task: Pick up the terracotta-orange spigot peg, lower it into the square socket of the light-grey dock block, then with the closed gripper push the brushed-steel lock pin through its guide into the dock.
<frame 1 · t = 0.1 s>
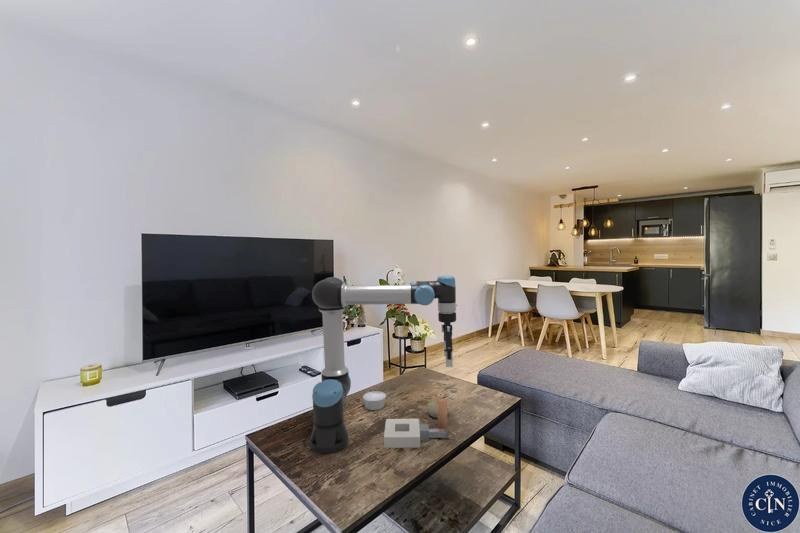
hand: (448, 361, 146), 28 cm above the table, fingers open, 13 cm apart
dock: (402, 437, 138), on the table
ramekin: (374, 406, 166), on the table
pin guide: (424, 437, 138), on the table
spigot peg: (442, 427, 144), on the table
sea urchin shell: (438, 415, 156), on the table
lock pin: (435, 432, 137), point 2 cm above the table, slide at 5.0 cm
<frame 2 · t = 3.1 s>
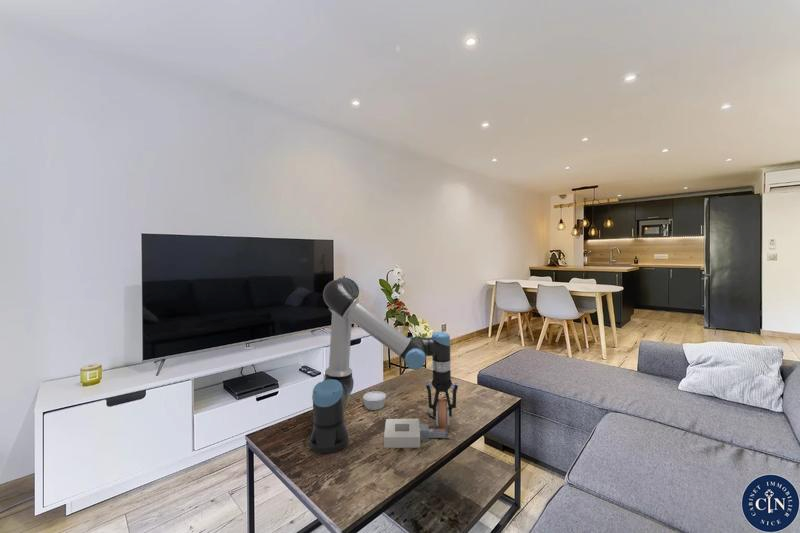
hand: (442, 423, 144), 2 cm above the table, fingers closed on spigot peg, 4 cm apart
spigot peg: (442, 427, 144), on the table, touching gripper
everything else where it was.
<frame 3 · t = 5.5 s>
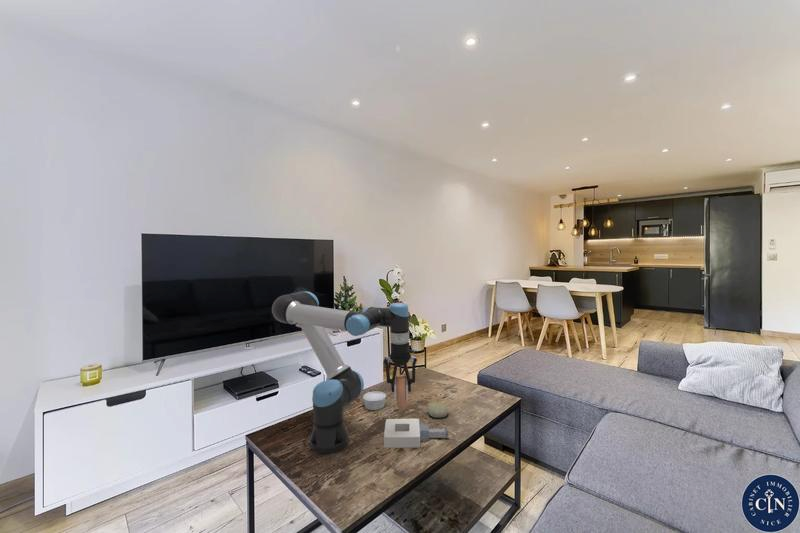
hand: (401, 399, 137), 16 cm above the table, fingers closed on spigot peg, 4 cm apart
spigot peg: (401, 406, 137), point 13 cm above the table, touching gripper
everything else where it was.
when the fingers open (5 cm above the table, at t = 8.1 s): spigot peg drops 2 cm, resting in dock.
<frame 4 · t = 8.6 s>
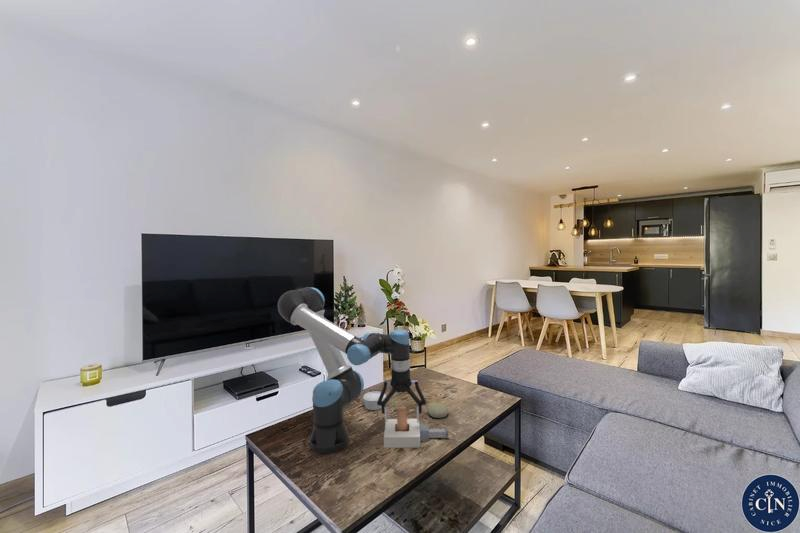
hand: (402, 421, 138), 7 cm above the table, fingers open, 12 cm apart
spigot peg: (402, 437, 138), resting in dock
everything else where it was.
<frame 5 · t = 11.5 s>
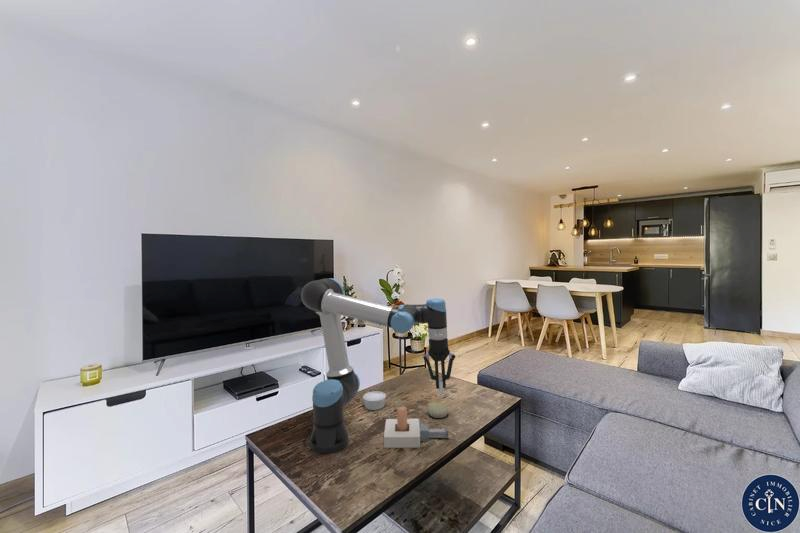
hand: (441, 396, 136), 17 cm above the table, fingers closed
nothing on the table moved.
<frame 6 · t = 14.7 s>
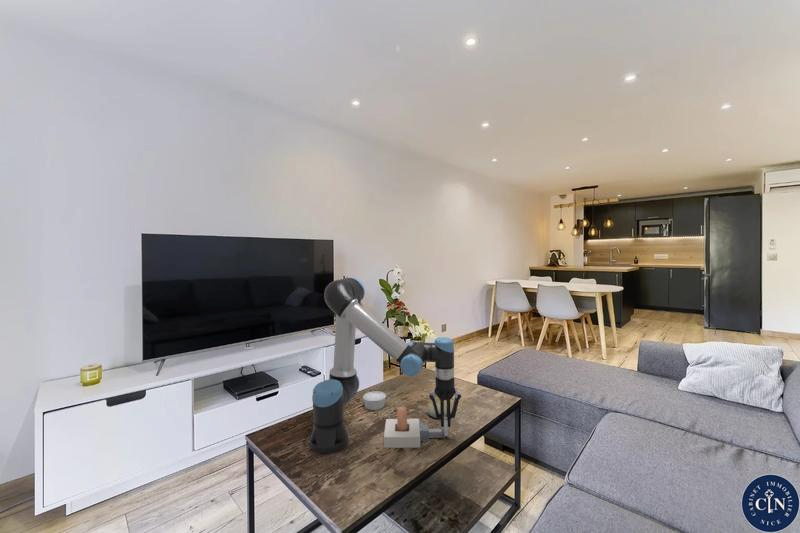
hand: (445, 434, 137), 1 cm above the table, fingers closed
lock pin: (431, 432, 137), point 2 cm above the table, slide at 3.5 cm, touching gripper
everything else where it was.
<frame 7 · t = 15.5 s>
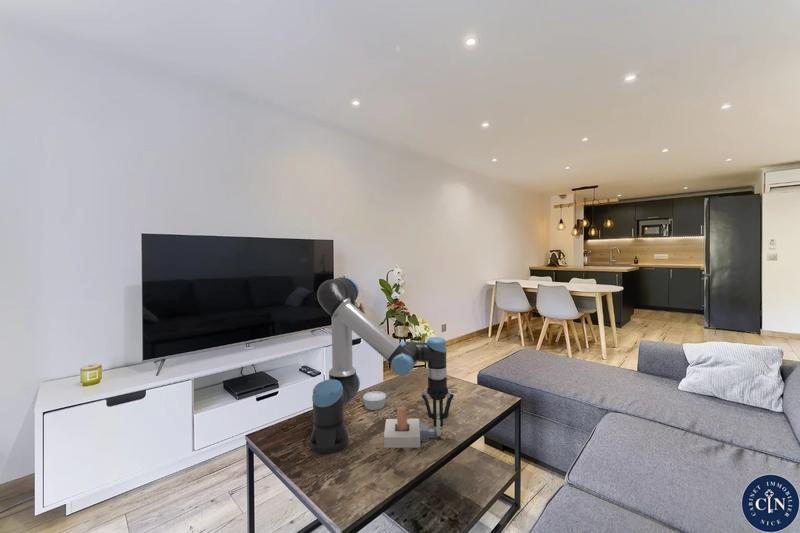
hand: (438, 433, 137), 1 cm above the table, fingers closed
lock pin: (424, 432, 138), point 2 cm above the table, slide at 0.5 cm, touching gripper
everything else where it was.
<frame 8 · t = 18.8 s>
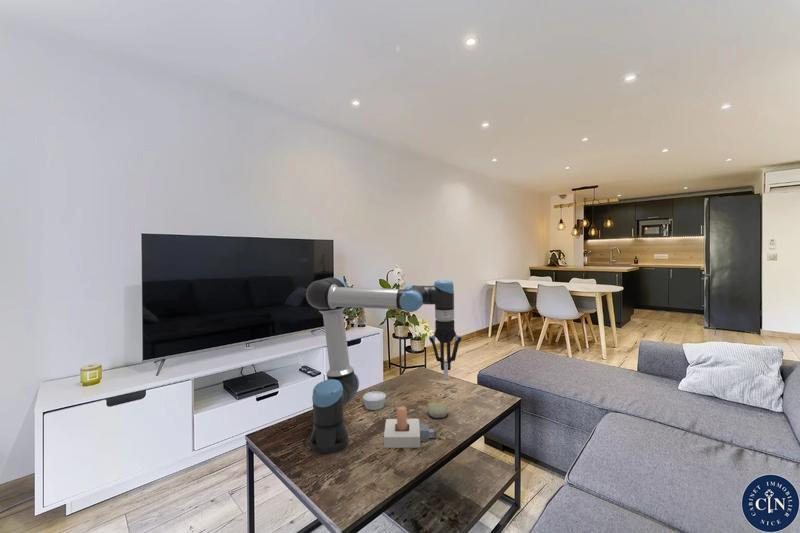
hand: (445, 377, 136), 24 cm above the table, fingers closed
lock pin: (424, 433, 138), point 2 cm above the table, slide at 0.5 cm
everything else where it was.
at the end: spigot peg 0.1 cm off-centre on the dock, point 0.0 cm above the dock's base; spigot peg tilted 1°; lock pin slide at 0.5 cm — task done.
